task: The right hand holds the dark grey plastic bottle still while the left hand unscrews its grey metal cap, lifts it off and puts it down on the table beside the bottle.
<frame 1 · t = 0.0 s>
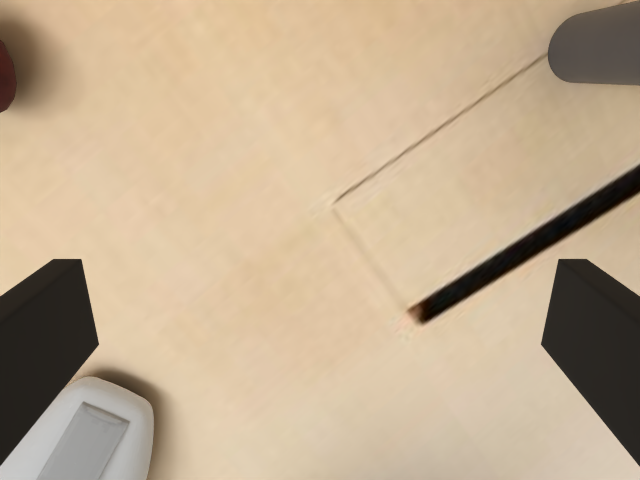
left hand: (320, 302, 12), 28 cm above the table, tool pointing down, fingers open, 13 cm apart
projector: (86, 448, 51), on the table
bottle: (580, 48, 36), on the table
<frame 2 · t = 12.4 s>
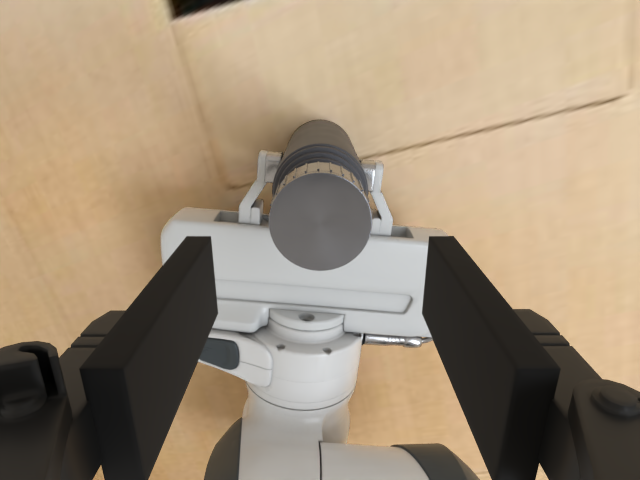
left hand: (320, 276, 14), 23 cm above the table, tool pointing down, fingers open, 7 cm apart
right hand: (320, 156, 29), fingers closed on bottle, 5 cm apart
cap: (320, 221, 19), point 17 cm above the table, screwed on, not yet turned
bottle: (320, 153, 35), on the table, touching right hand
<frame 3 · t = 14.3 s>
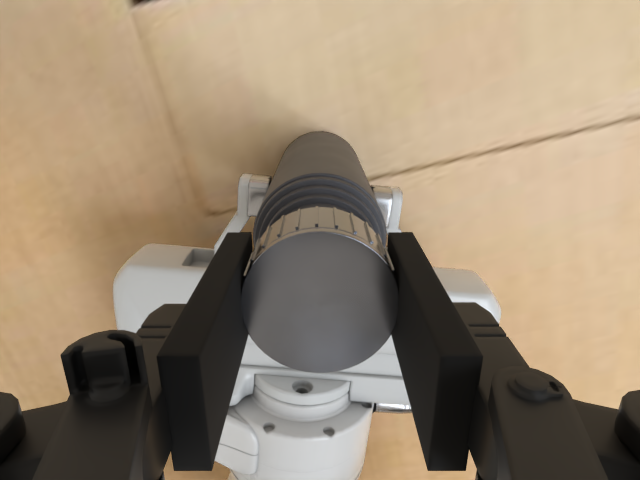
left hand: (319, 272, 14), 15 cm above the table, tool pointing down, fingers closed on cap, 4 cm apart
right hand: (320, 182, 22), fingers closed on bottle, 5 cm apart
cap: (320, 301, 13), point 17 cm above the table, screwed on, not yet turned, touching left hand
bottle: (319, 172, 29), on the table, touching right hand
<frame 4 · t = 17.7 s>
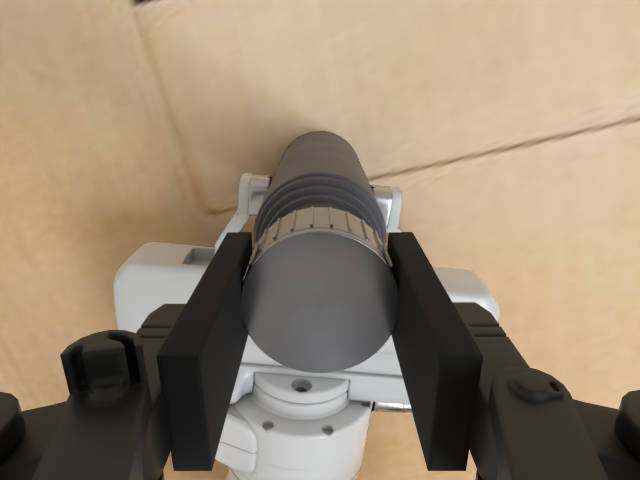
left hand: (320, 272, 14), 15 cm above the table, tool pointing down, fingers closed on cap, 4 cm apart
right hand: (320, 181, 22), fingers closed on bottle, 5 cm apart
cap: (320, 301, 13), point 17 cm above the table, turned 101° so far, risen 0.1 cm, still on its thread, touching left hand
bottle: (319, 172, 29), on the table, touching right hand
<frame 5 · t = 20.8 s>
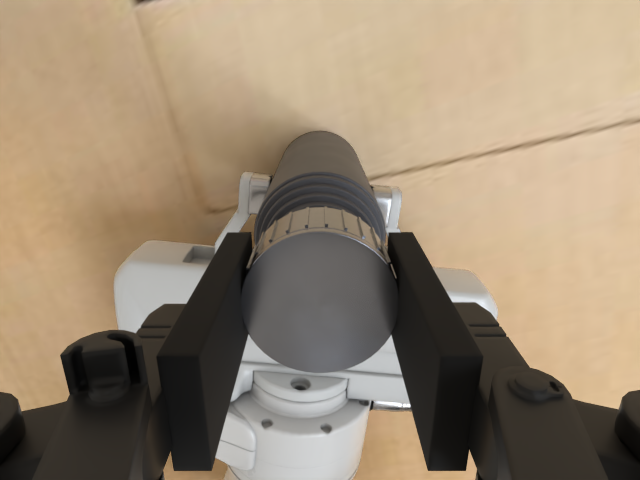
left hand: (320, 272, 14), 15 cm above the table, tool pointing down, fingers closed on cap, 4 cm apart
right hand: (320, 181, 22), fingers closed on bottle, 5 cm apart
cap: (320, 301, 13), point 17 cm above the table, turned 202° so far, risen 0.2 cm, still on its thread, touching left hand
bottle: (319, 171, 29), on the table, touching right hand
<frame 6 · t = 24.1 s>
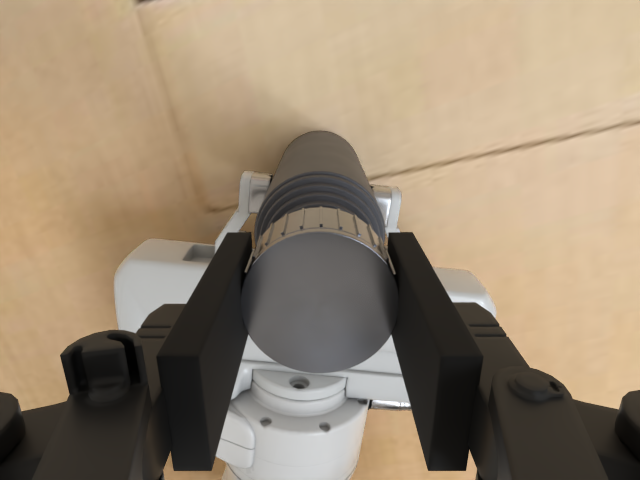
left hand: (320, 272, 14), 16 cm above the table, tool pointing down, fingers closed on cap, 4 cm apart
right hand: (320, 180, 23), fingers closed on bottle, 5 cm apart
cap: (319, 302, 13), point 18 cm above the table, turned 302° so far, risen 0.3 cm, still on its thread, touching left hand
bottle: (319, 171, 29), on the table, touching right hand
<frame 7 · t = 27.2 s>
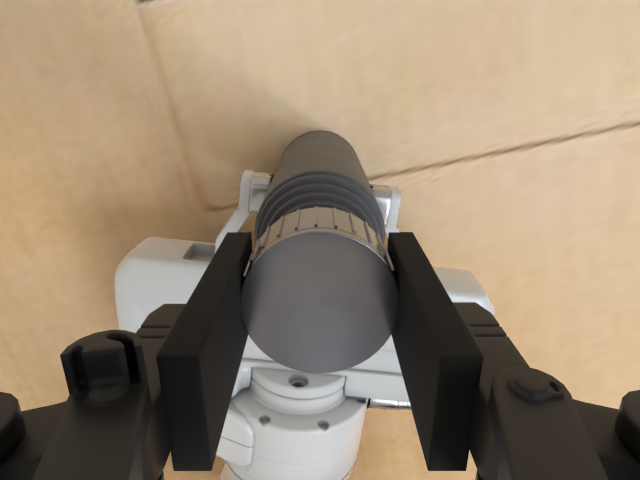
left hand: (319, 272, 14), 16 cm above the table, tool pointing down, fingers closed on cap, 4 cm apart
right hand: (321, 180, 23), fingers closed on bottle, 5 cm apart
cap: (319, 302, 13), point 18 cm above the table, turned 403° so far, risen 0.5 cm, still on its thread, touching left hand
bottle: (319, 171, 29), on the table, touching right hand
when the left hand's fingers open (2 cm above the table, at t = 34.4 s): cap drops 2 cm, point 2 cm above the table.
when the right hand's fingers open (7 cm above the table, at t = 35.8 s): bottle stays where it is, on the table.
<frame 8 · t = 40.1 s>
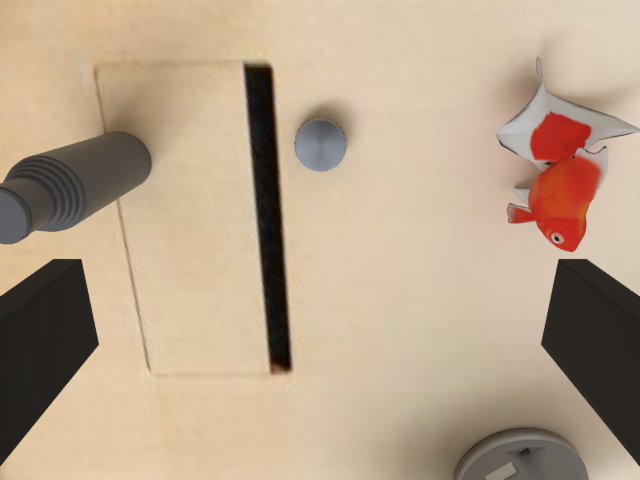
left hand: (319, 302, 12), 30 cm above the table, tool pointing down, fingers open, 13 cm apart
fish: (529, 148, 41), on the table
cap: (320, 145, 39), point 2 cm above the table, off its thread
bottle: (123, 160, 41), on the table
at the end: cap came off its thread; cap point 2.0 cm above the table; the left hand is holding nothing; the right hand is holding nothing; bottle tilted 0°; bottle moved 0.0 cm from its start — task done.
